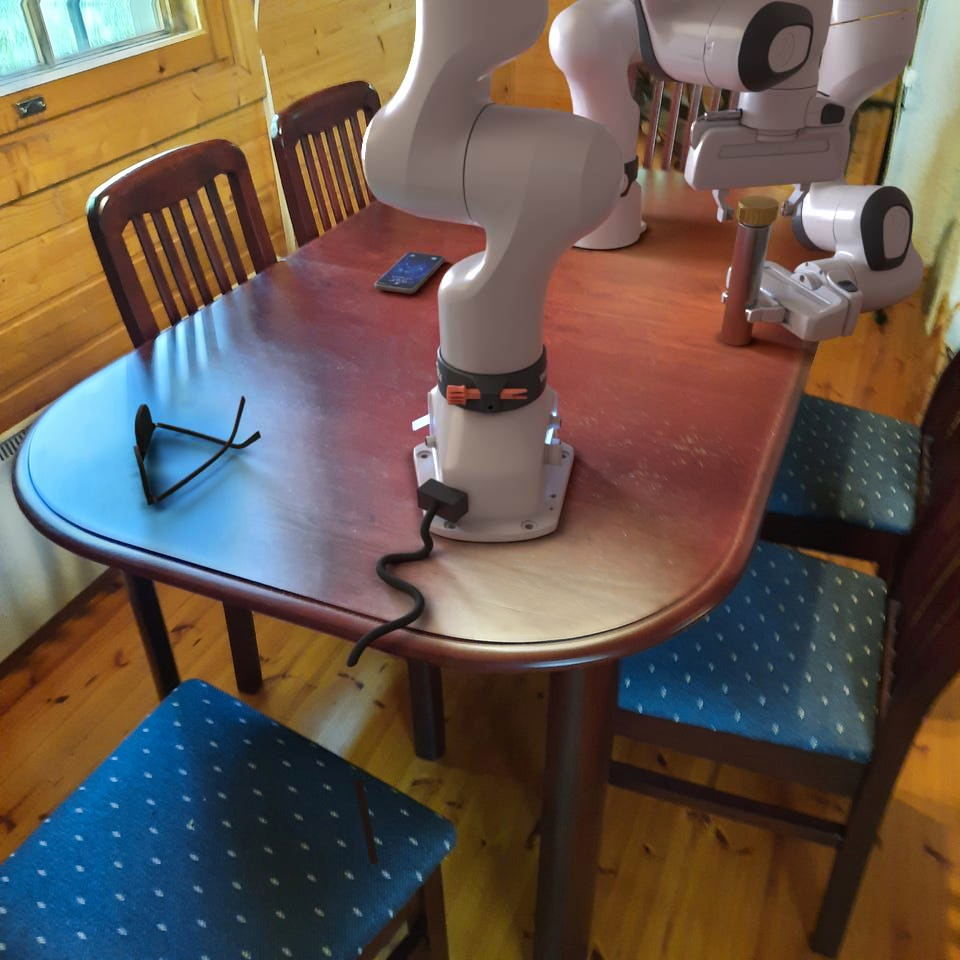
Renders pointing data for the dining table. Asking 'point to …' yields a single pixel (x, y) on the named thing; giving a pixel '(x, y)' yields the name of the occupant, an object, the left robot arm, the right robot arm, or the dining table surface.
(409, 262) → the smartphone
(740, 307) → the grey metal cylinder
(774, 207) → the lid
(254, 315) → the dining table surface
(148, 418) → the sunglasses
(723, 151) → the left robot arm
